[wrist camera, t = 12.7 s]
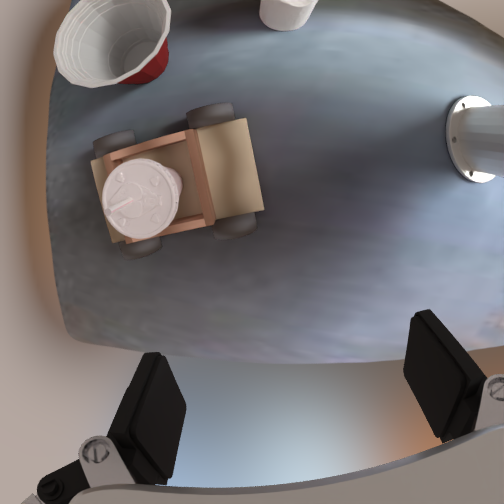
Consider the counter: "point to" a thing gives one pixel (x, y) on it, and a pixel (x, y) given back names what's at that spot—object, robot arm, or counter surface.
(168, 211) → the smoothie
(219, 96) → the counter surface
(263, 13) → the roll
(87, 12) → the plastic cup
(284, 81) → the counter surface
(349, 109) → the counter surface
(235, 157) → the chassis
